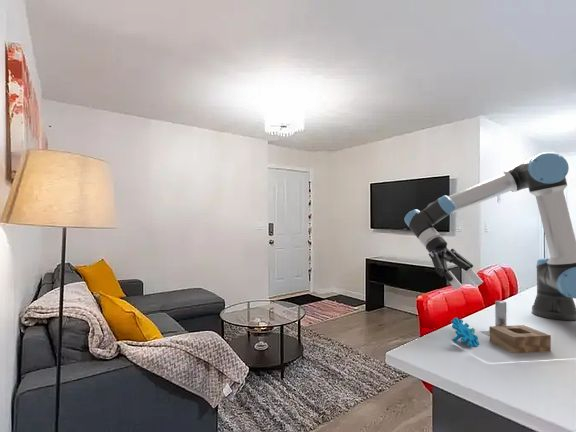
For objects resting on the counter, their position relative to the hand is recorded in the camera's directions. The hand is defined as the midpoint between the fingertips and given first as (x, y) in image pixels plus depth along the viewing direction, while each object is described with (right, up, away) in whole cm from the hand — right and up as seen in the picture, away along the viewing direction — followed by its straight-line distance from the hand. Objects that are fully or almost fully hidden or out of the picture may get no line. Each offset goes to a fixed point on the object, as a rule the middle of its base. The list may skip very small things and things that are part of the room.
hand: (470, 286), depth 126 cm
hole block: (+5, -15, -19) cm, 25 cm away
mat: (+6, -15, -9) cm, 18 cm away
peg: (+6, -15, -9) cm, 18 cm away
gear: (-10, -15, -16) cm, 24 cm away
